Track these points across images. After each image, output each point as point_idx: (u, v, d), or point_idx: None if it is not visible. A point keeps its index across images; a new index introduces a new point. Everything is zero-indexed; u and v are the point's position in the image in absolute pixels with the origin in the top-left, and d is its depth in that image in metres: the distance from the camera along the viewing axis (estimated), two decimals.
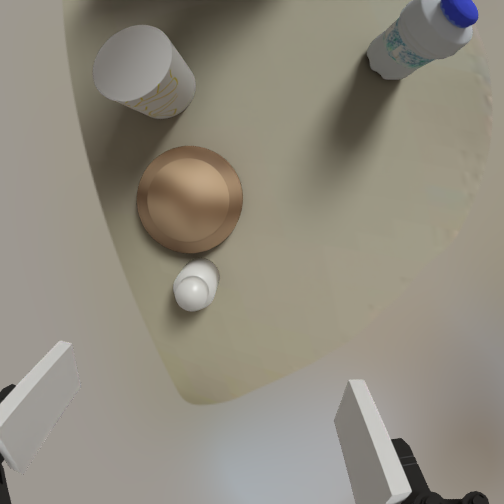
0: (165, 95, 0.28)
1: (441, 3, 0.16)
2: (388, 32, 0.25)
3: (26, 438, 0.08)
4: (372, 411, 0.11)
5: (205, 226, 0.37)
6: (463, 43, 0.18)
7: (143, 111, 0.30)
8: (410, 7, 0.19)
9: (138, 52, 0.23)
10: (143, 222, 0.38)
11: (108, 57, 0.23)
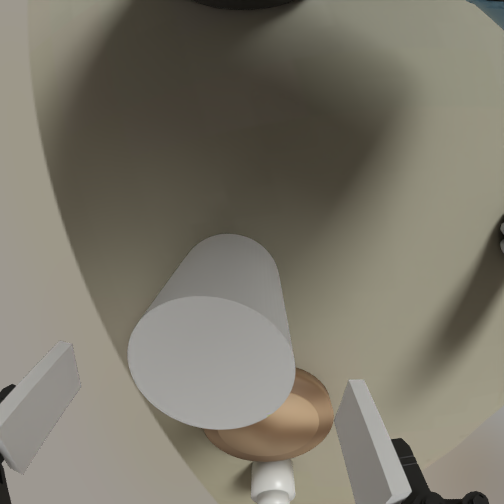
0: None
1: None
2: None
3: (26, 438, 0.08)
4: (372, 411, 0.11)
5: (287, 445, 0.28)
6: None
7: None
8: None
9: (224, 361, 0.14)
10: (211, 439, 0.28)
11: (157, 355, 0.14)
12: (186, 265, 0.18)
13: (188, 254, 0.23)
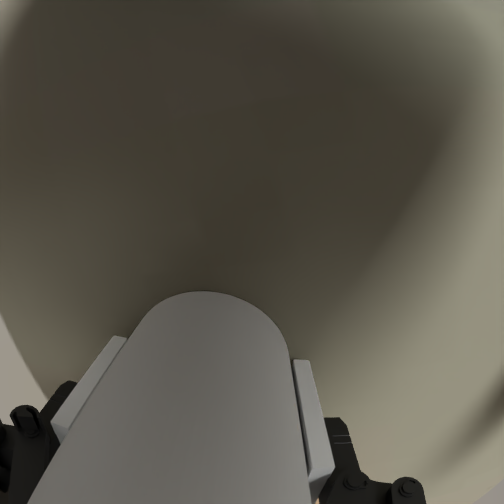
0: None
1: None
2: None
3: None
4: (310, 388, 0.12)
5: None
6: None
7: None
8: None
9: None
10: None
11: None
12: (112, 384, 0.08)
13: (134, 332, 0.12)
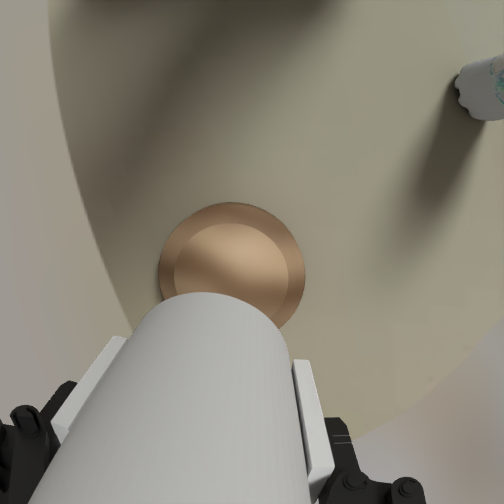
0: None
1: None
2: (500, 67, 0.16)
3: None
4: (310, 388, 0.12)
5: None
6: None
7: None
8: None
9: None
10: None
11: None
12: (111, 385, 0.08)
13: (134, 333, 0.12)
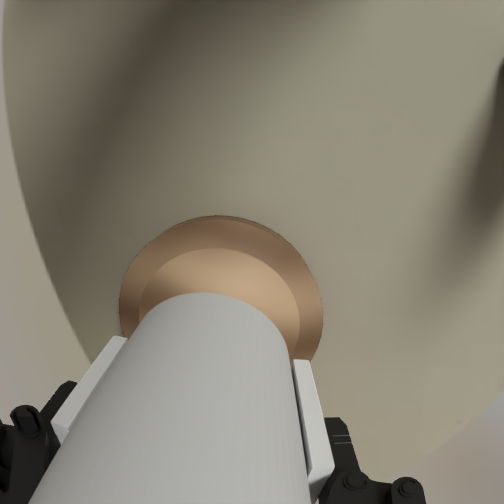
0: None
1: None
2: None
3: None
4: (310, 388, 0.12)
5: None
6: None
7: None
8: None
9: None
10: None
11: None
12: (111, 386, 0.08)
13: (134, 333, 0.12)
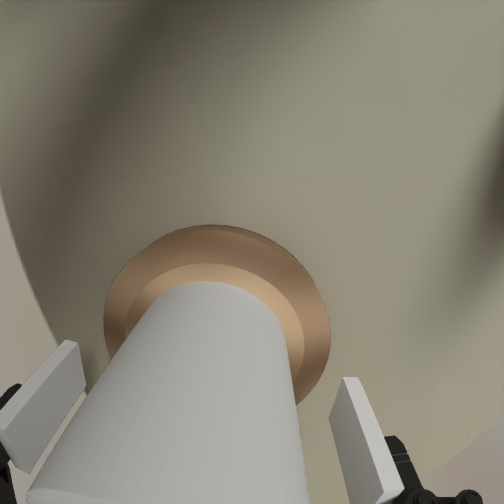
0: None
1: None
2: None
3: (32, 437, 0.08)
4: (366, 408, 0.11)
5: None
6: None
7: None
8: None
9: None
10: None
11: None
12: (122, 360, 0.09)
13: (142, 318, 0.13)
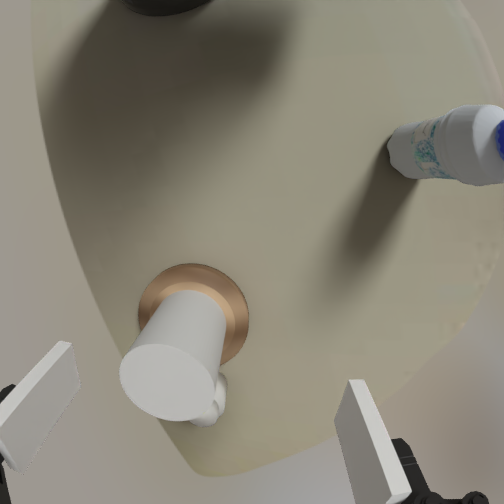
0: None
1: (497, 134, 0.15)
2: (419, 138, 0.24)
3: (26, 438, 0.08)
4: (372, 411, 0.11)
5: None
6: None
7: None
8: (455, 126, 0.18)
9: (172, 379, 0.23)
10: None
11: (135, 375, 0.23)
12: (154, 318, 0.28)
13: (159, 306, 0.32)
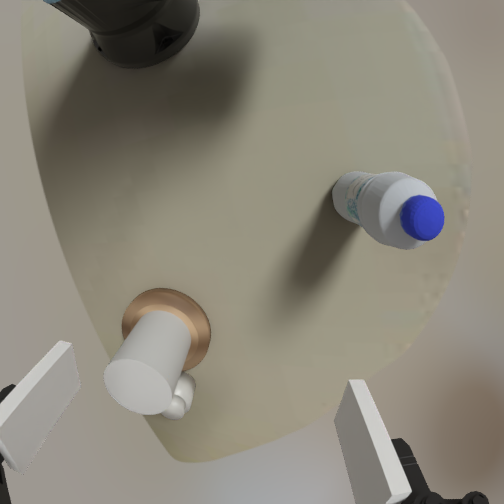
0: None
1: (402, 211, 0.22)
2: (349, 195, 0.31)
3: (26, 438, 0.08)
4: (372, 411, 0.11)
5: None
6: (419, 245, 0.24)
7: None
8: (369, 198, 0.25)
9: (141, 384, 0.30)
10: None
11: (115, 379, 0.30)
12: (131, 336, 0.35)
13: None
